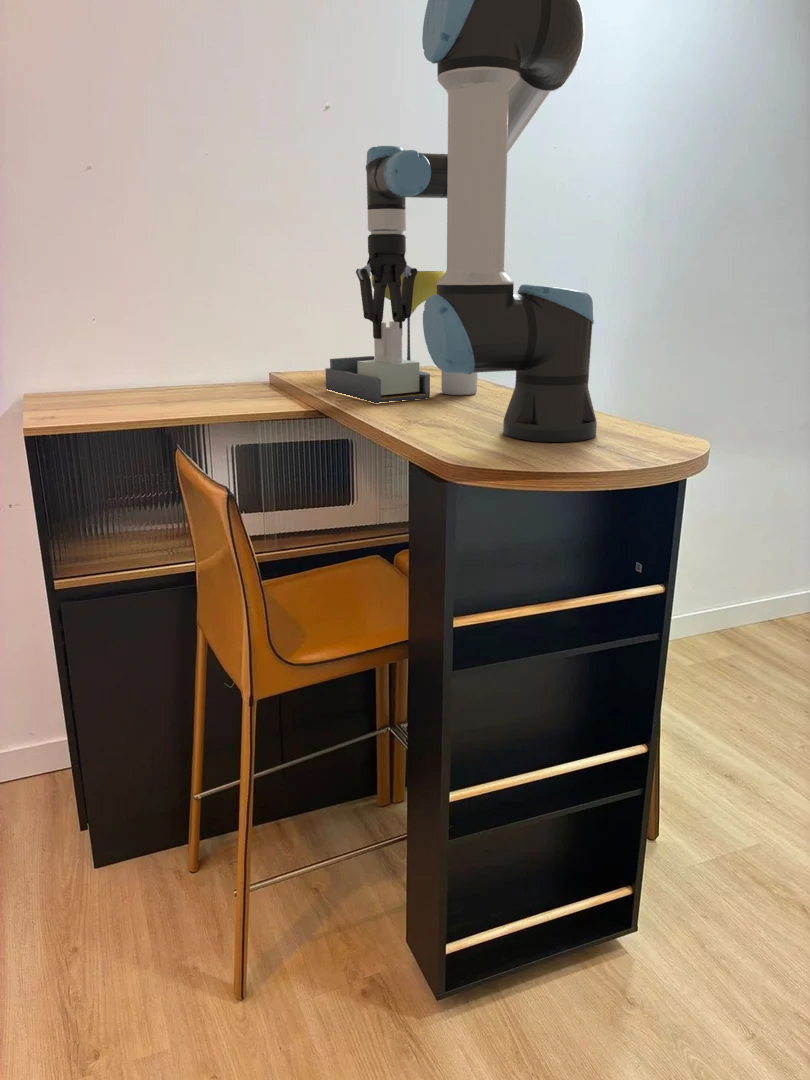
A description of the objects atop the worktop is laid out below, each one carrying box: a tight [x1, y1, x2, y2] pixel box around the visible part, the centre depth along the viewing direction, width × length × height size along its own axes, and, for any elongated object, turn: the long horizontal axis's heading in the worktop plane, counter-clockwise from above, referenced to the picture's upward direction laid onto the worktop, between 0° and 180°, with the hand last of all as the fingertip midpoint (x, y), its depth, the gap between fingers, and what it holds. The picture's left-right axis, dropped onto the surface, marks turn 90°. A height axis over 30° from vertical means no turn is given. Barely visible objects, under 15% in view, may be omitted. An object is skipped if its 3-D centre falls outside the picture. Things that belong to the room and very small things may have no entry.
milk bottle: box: [440, 370, 478, 396], centre depth 175 cm, size 8×8×20 cm
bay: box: [324, 355, 431, 403], centre depth 176 cm, size 22×13×7 cm, turn 32°
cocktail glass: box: [370, 270, 446, 376], centre depth 204 cm, size 18×18×25 cm
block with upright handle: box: [357, 326, 420, 395], centre depth 170 cm, size 9×10×13 cm
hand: (388, 354), depth 170 cm, fingers closed on block with upright handle, 2 cm apart
